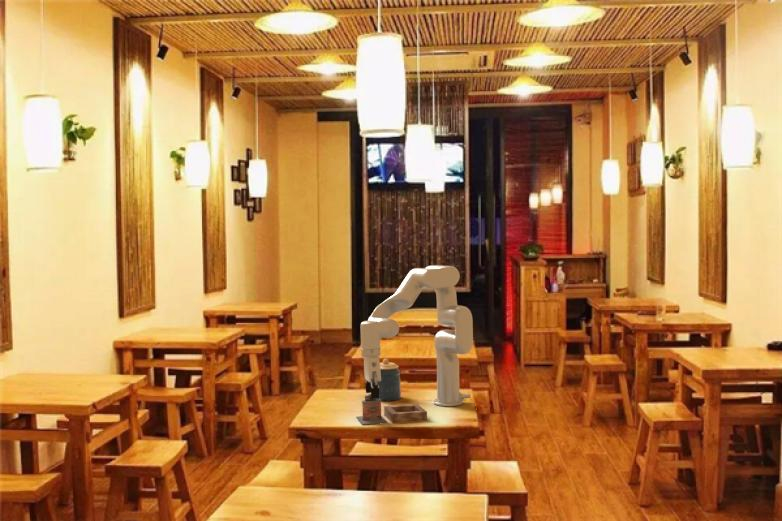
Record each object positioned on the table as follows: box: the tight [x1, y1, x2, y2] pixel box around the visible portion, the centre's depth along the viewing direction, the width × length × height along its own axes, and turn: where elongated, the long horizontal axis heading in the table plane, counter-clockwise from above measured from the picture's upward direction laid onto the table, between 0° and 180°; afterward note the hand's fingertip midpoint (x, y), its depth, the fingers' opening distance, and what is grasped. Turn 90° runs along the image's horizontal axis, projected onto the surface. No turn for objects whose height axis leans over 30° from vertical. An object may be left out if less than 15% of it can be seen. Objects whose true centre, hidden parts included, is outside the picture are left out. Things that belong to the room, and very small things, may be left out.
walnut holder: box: [383, 403, 428, 424], centre depth 332 cm, size 14×14×4 cm
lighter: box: [361, 393, 383, 421], centre depth 328 cm, size 8×3×10 cm, turn 114°
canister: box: [374, 358, 402, 402], centre depth 368 cm, size 13×13×18 cm
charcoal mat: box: [355, 415, 388, 426], centre depth 328 cm, size 10×12×1 cm
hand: (372, 395), depth 328 cm, fingers open, 9 cm apart
